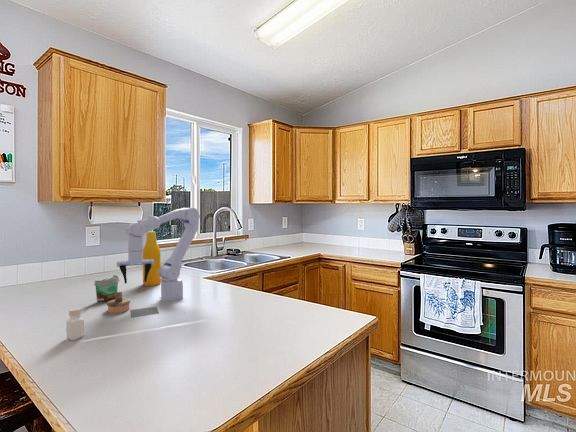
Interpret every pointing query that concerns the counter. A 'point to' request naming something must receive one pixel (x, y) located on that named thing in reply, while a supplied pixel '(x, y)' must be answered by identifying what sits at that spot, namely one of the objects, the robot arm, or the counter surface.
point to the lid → (118, 300)
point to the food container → (106, 289)
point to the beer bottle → (152, 253)
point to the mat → (144, 311)
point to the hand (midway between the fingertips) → (135, 282)
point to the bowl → (118, 308)
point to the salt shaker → (75, 324)
